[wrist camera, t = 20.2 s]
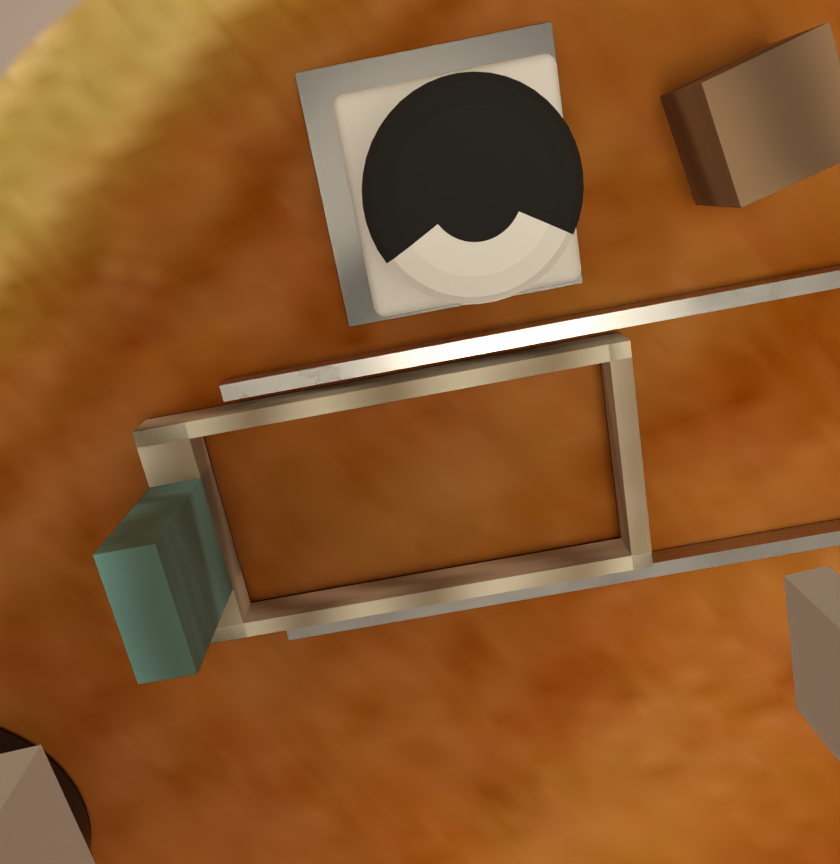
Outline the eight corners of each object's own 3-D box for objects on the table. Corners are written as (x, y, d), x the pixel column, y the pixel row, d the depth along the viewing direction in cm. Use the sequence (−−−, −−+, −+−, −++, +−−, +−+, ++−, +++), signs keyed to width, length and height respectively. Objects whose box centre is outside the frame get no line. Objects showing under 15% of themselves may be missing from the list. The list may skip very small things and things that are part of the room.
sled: (208, 624, 41) (157, 739, 33) (145, 419, 38) (69, 489, 29) (641, 548, 40) (705, 646, 32) (618, 332, 37) (683, 377, 28)
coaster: (350, 324, 37) (349, 326, 36) (296, 75, 33) (294, 73, 33) (579, 281, 36) (582, 282, 36) (549, 24, 33) (551, 22, 32)
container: (345, 114, 33) (311, 73, 21) (522, 79, 33) (594, 16, 21) (381, 292, 36) (369, 349, 23) (547, 260, 35) (624, 302, 23)
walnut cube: (695, 204, 35) (741, 207, 31) (659, 97, 34) (701, 83, 29) (800, 156, 35) (863, 152, 30) (768, 45, 33) (828, 21, 29)
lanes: (292, 627, 42) (289, 640, 40) (225, 379, 37) (219, 385, 36) (885, 524, 40) (899, 534, 39) (885, 256, 36) (901, 258, 35)
